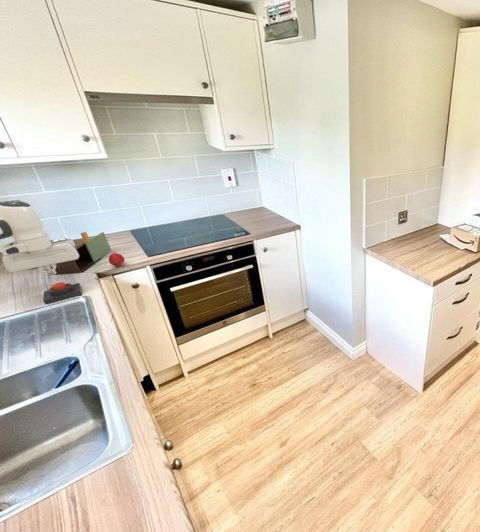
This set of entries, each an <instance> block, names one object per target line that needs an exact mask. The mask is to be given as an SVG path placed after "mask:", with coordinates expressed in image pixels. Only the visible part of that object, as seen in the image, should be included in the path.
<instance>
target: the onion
mask: <svg viewBox="0 0 480 532" xmlns="http://www.w3.org/2000/svg"><path fill="white" fill-rule="evenodd" d="M125 259H126V258H125V257H124V255H122V254H120V253H117V252H116V251H113V252H112V253H111V254H110V255H109V256H108V263H109V264H110V265H112V266H114V267H122V266H123V264H124V263H125Z"/></svg>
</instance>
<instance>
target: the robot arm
mask: <svg viewBox="0 0 480 532" xmlns="http://www.w3.org/2000/svg"><path fill="white" fill-rule="evenodd" d="M7 238H13V240H14V241H11V242H9V243H6V244H4V245H2V247H1V249H0V253H1V254H2V256H3V257H2V263H3V266H4V268H5V270H6V271H7V272H10V273H16V272H20V271H25V270H31V269H37V270H38V271H40V272H41V273H44V275H45V277H48V276H55V275H54V274H56V271H55V268H56V263H61V262H66V261H71V260H76V259H78V258H79V253H78V252H77V250H76V249H75V243H74V241H73V240H74V239H71V238H68V237H64V238H59V239H51V237H50V235H49V234H48V232H47V230H46V229H45V228H44V226H43V221H42V220H41V218H40V216H39V214H38V212H37V211H36V209H35V208H34V207H33V206H32V205H31V204H30V203H28V202H24V201H18V200H10V201H3V202H1V201H0V240H4V239H7ZM50 265H51V267H53V269H48V270H47V269H46V268H45V267H46V266H50ZM36 267H37V268H36ZM51 267H50V268H51Z"/></svg>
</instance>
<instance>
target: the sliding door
mask: <svg viewBox="0 0 480 532" xmlns="http://www.w3.org/2000/svg"><path fill="white" fill-rule="evenodd" d="M80 236H81V239H83V240H84V242H85V245H86V247H87V249H88V252H89V254H90V256H91V258H92V260H93V262H95V261H97V260H98V259H99V258H103V257H104V256H105V255H107V254H108V253H109V252H111V251H112V248H111V245H110V244H109V241H108V239H107V236H106V234H105V231H101V232H100V233H99V234H97V235H95V236H93V237H92V238H90V237H89V234H88V233H87V231H82V232H80Z"/></svg>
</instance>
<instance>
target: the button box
mask: <svg viewBox="0 0 480 532" xmlns="http://www.w3.org/2000/svg"><path fill="white" fill-rule="evenodd" d="M64 283H65V284H66V286H67V287H66V288H64V289H61V290H55V291H54V290H53V288H52V286H51V287H50V288H48V290H44V291H43V296H42V297H43V298H42V301H43V303H44V305H45V306H46V304H47V305H51V304H55V303H58V302H62V301H66V300H69V299H73V298H76V297H81V296H83V288H82V285H81V283H80V282H77V283H73V284H72V283H68V282H64Z"/></svg>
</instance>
